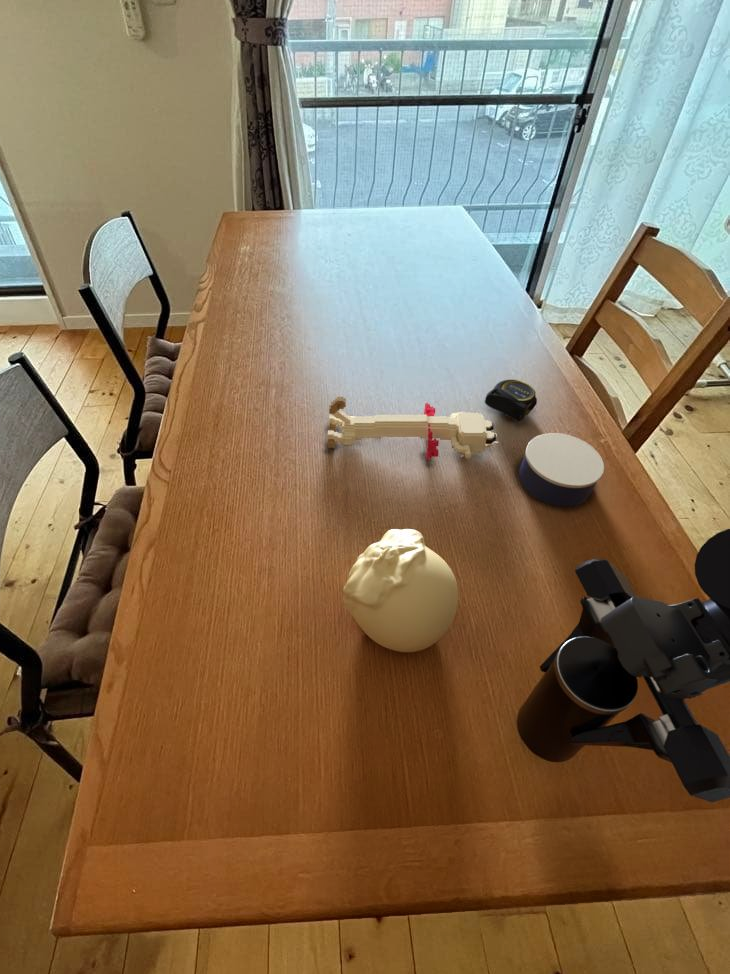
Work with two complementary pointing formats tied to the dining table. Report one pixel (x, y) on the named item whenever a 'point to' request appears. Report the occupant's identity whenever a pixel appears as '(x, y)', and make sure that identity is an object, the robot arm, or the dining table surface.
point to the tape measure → (512, 399)
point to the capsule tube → (575, 698)
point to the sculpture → (401, 592)
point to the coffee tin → (560, 469)
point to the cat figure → (414, 428)
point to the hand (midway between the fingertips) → (555, 703)
